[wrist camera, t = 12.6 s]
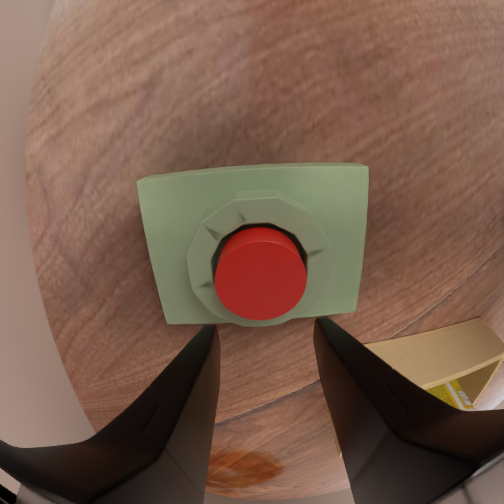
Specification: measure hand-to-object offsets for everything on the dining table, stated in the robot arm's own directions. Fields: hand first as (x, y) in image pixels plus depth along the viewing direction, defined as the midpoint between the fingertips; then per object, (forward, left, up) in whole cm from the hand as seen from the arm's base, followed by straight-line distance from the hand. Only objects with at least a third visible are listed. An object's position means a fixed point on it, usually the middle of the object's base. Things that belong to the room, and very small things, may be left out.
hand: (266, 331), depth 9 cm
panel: (0, 0, -8) cm, 8 cm away
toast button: (0, 0, -5) cm, 5 cm away
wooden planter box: (-14, +14, -8) cm, 21 cm away
